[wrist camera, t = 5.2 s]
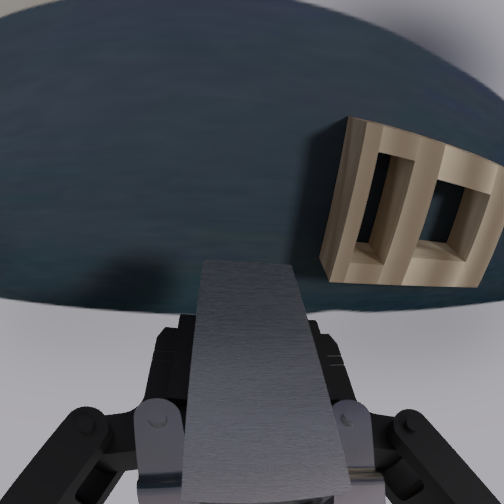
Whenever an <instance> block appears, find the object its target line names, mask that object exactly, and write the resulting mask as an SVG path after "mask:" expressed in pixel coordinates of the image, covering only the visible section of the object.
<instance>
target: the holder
mask: <svg viewBox="0 0 504 504" xmlns="http://www.w3.org/2000/svg"><path fill="white" fill-rule="evenodd" d="M378 152H380V153H385V154H389V155H391V158H390V163H389V167H388V171H387V176H386V180H385V184H384V188H383V192H382V196H381V200H380V203H379V207H378V211H377V214H376V218H375V222H374V225H373V229H372V232H371V235H370V239H369V242H368V243H361V242H356V240H357V237H358V233H359V230H360V226H361V222H362V219H363V215H364V211H365V207H366V203H367V199H368V195H369V191H370V187H371V183H372V179H373V174H374V170H375V166H376V161H377V156H378ZM437 179H438V180H442V181H445V182H449V183H453V184H456V185H460V186H463V187H465V189H464V192H463V196H462V199H461V202H460V205H459V209H458V212H457V215H456V218H455V221H454V223H453V226H452V229H451V232H450V235H449V237H448V240H447V243H441V242H434V241H426V240H418V239H419V237H420V234H421V231H422V228H423V225H424V222H425V219H426V215H427V212H428V209H429V206H430V203H431V199H432V196H433V192H434V189H435V185H436V182H437ZM503 227H504V167H503V166H501V165H499V164H497V163H495V162H492V161H490V160H488V159H485V158H483V157H480V156H478V155H475V154H473V153H470V152H468V151H465V150H462V149H460V148H457V147H454V146H452V145H449V144H446V143H443V142H440V141H437V140H434V139H431V138H428V137H425V136H422V135H419V134H415V133H412V132H409V131H405V130H402V129H398V128H395V127H391V126H387V125H383V124H380V123H376V122H372V121H367V120H363V119H359V118H355V117H350V116H348V122H347V127H346V133H345V139H344V144H343V150H342V155H341V160H340V165H339V170H338V175H337V180H336V185H335V190H334V195H333V199H332V204H331V208H330V213H329V217H328V222H327V226H326V230H325V235H324V239H323V243H322V247H321V251H320V255H319V259H320V261H321V263H322V266H323V268H324V271H325V273H326V275H327V278H328V280H329V282H340V283H361V284H384V285H410V286H443V287H478V285H479V283H480V281H481V279H482V277H483V275H484V272H485V270H486V268H487V266H488V264H489V261H490V259H491V257H492V254H493V252H494V250H495V247H496V245H497V242H498V240H499V237H500V235H501V232H502V229H503Z"/></svg>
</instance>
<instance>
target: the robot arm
mask: <svg viewBox="0 0 504 504" xmlns="http://www.w3.org/2000/svg"><path fill="white" fill-rule="evenodd" d="M308 322H309V326H310V329H311V333H312V336H313V340H314V343H315V347H316V350H317V354H318V357H319V361H320V365H321V368H322V372H323V376H324V379H325V383H326V387H327V390H328V394H329V398H330V402H331V405H332V409H333V413H334V417H335V421H336V425H337V428H338V432H339V436H340V440H341V444H342V448H343V452H344V456H345V461H346V465H347V469H348V473H349V477H350V482H351V486H352V490H353V492H348V493H343V494H338V495H334V496H332V497H331V498H330V499H328V500H327V501H325V502H324V503H323V504H385V495H386V497H387V498H388V499H389V500H390V501H391V503H392V504H501V503H500V502H499V501H498V500H497V498H496V497H495V496H494V495H493V494H492V493H491V492H490V490H489V489H488V488H487V487H486V486H485V485H484V483H483V482H482V481H481V480H480V479H479V478H478V477H477V475H476V474H475V473H474V472H473V471H472V470H471V469H470V467H469V466H468V465H467V464H466V463H465V462H464V461H463V459H462V458H461V457H460V456H459V455H458V454H457V453H456V451H455V450H454V449H453V448H452V447H451V446H450V445H449V444H448V442H447V441H446V440H445V439H444V438H443V437H442V436H441V435H440V434H439V432H438V431H437V430H436V429H435V428H434V427H433V426H432V425H431V423H430V422H429V421H428V420H427V419H426V418H425V417H424V416H423V415H422V414H421V413H419V412H418V411H415V410H411V409H406V410H402V411H400V412H399V413H398V414H397V415H396V416H395V417H391V416H384V415H377V414H373V413H370V412H369V411H368V409H367V408H366V407H365V406H364V405H362V404H361V403H359V402H357V400H356V398H355V395H354V392H353V389H352V386H351V383H350V380H349V377H348V374H347V371H346V368H345V366H344V363H343V360H342V357H341V354H340V351H339V348H338V345H337V343H336V342H335V341H334V340H333V339H332V337H331V336H330V335H329V334H320V330H319V328H318V324H317V322H316V321H315V320H308ZM195 323H196V315H186V314H181V315H180V318H179V324H178V328H169V327H165V328H164V329H163V331H162V332H161V333H160V334H159V335H158V337H157V340H156V344H155V350H154V353H153V359H152V363H151V367H150V372H149V377H148V382H147V386H146V392H145V396H144V399H143V401H142V402H141V403H140V405H139V406H138V407H136V408H135V409H133V410H132V411H130V412H126V413H121V414H113V415H104V414H103V413H102V412H100V411H99V410H98V409H96V408H93V407H80V408H77V409H75V410H74V411H72V412H71V413H70V414H69V415H68V416H67V417H66V419H65V420H64V421H63V422H62V423H61V424H60V426H59V427H58V428H57V429H56V431H55V432H54V433H53V434H52V436H51V437H50V438H49V439H48V440H47V442H46V443H45V444H44V445H43V447H42V448H41V449H40V450H39V451H38V453H37V454H36V455H35V456H34V458H33V459H32V460H31V462H30V463H29V464H28V465H27V467H26V468H25V469H24V470H23V472H22V473H21V474H20V475H19V477H18V478H17V479H16V481H15V482H14V483H13V484H12V486H11V487H10V488H9V490H8V491H7V492H6V494H5V495H4V496H3V498H2V499H1V500H0V504H103V503H104V502H105V500H106V499H107V497H108V496H109V494H110V493H111V491H112V490H113V488H114V487H115V485H116V484H117V482H118V481H119V479H120V478H121V476H122V475H123V473H124V472H125V471H127V470H135V469H138V473H139V479H138V481H137V495H138V502H139V504H199V502H186V501H181V491H182V471H183V454H184V439H185V425H186V412H187V401H188V389H189V379H190V369H191V359H192V349H193V340H194V332H195Z"/></svg>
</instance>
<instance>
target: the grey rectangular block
mask: <svg viewBox="0 0 504 504" xmlns="http://www.w3.org/2000/svg"><path fill="white" fill-rule="evenodd" d="M348 492H353V490H352V486H351V482H350V477H349V473H348V469H347V465H346V461H345V456H344V452H343V448H342V444H341V440H340V436H339V432H338V428H337V425H336V421H335V417H334V413H333V409H332V405H331V402H330V398H329V394H328V390H327V387H326V383H325V379H324V376H323V372H322V368H321V365H320V361H319V357H318V354H317V350H316V347H315V343H314V340H313V336H312V333H311V329H310V326H309V322H308V319H307V316H306V312H305V309H304V305H303V302H302V299H301V295H300V292H299V289H298V285H297V282H296V279H295V275H294V272H293V269H292V266H291V265H286V264H270V263H254V262H238V261H223V260H209V259H204V262H203V269H202V276H201V283H200V291H199V299H198V307H197V315H196V323H195V332H194V340H193V349H192V359H191V369H190V379H189V389H188V401H187V412H186V425H185V439H184V454H183V471H182V491H181V501H186V502H199V504H323V503H324V502H325V501H327V500H328V499H330V498H331V497H332V496H334V495H338V494H343V493H348Z"/></svg>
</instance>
